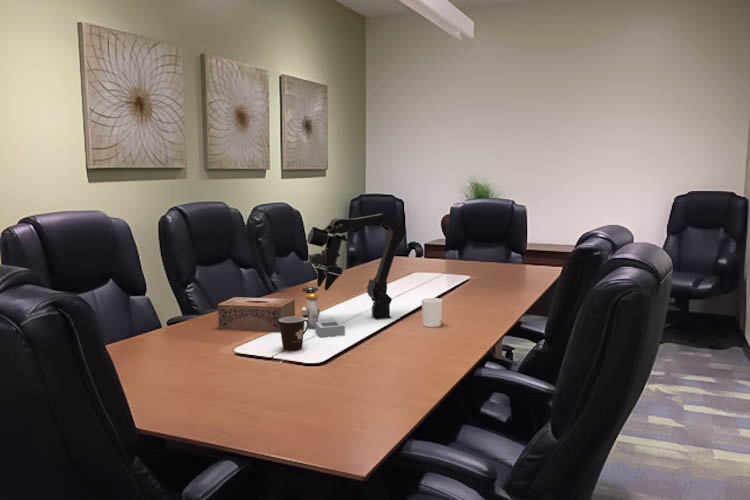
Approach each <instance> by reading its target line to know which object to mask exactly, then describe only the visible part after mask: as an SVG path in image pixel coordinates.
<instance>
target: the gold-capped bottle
mask: <svg viewBox="0 0 750 500" xmlns="http://www.w3.org/2000/svg"><path fill="white" fill-rule="evenodd" d="M305 298H306V301H307V302H306V307H307V310H308V316H307V320H308V322H309V327H308V329H309V328H315V322H319V316H318V308H319V305H318V304H319V300H318V299H319V293H316V292H315V293H309V294H307V293H306V297H305Z"/></svg>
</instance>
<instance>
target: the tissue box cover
mask: <svg viewBox="0 0 750 500" xmlns="http://www.w3.org/2000/svg"><path fill="white" fill-rule="evenodd" d="M295 302H296V301H295V298H271V297H270V298H269V297H242V296H241V297H239V296H235V297H232V298H230V299H227V300H225V301H222V302H220V303H218V304H217V319H218V320H217V321H218V330H224V331H225V330H227V331H244V332H246V331H249V332H266V333H267V332H270V333H271V332H273V333H281V331H280V325H279V319H281V318H285V317H296V307H295V305H296V303H295Z"/></svg>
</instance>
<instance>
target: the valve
mask: <svg viewBox="0 0 750 500" xmlns="http://www.w3.org/2000/svg"><path fill="white" fill-rule="evenodd" d="M317 291H319V288H318V286H315V287H314V286H310V287H309V286H306V287H302V292H303V293H304V292H305V293H306V294H309V293H316V292H317ZM301 315H302V316H303V317H308V310H307V306H303V307H302V309H301ZM319 316H320V307H318V317H319Z"/></svg>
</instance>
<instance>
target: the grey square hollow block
mask: <svg viewBox="0 0 750 500" xmlns="http://www.w3.org/2000/svg"><path fill="white" fill-rule="evenodd" d="M314 331H316V332H317V333H316V332H315V333H316V334H317V335H318V336H319V337H320V338H328V336H330V337H337V336H336V335H341V336H345V335H346V329H345V324H343V323H342V322H341V321H340V320H338V319H337V320H328V321H327V320H326V321H318V322H315V329H314Z"/></svg>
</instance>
